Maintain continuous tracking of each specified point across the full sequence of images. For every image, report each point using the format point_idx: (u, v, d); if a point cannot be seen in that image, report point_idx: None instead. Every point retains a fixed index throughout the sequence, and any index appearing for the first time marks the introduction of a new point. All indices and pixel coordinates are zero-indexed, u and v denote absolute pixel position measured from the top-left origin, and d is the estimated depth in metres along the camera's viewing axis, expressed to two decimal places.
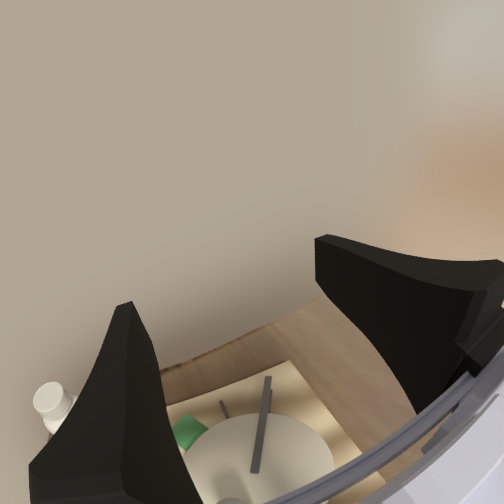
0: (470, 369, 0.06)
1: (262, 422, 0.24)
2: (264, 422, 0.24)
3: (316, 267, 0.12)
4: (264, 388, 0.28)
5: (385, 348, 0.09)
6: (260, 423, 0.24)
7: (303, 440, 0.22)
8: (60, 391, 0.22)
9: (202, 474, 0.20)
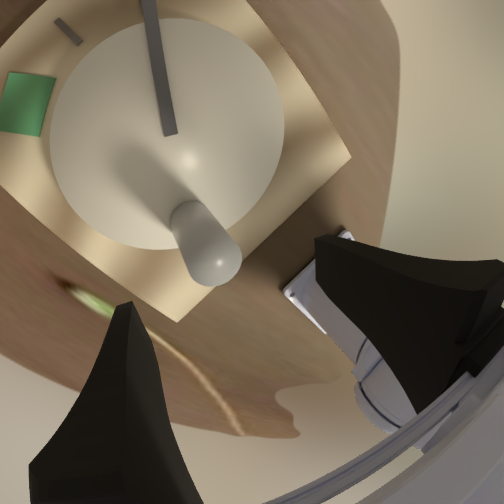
0: (470, 369, 0.06)
1: (154, 39, 0.12)
2: (159, 38, 0.11)
3: (316, 267, 0.12)
4: None
5: (385, 348, 0.09)
6: (152, 42, 0.11)
7: (230, 61, 0.14)
8: None
9: (93, 171, 0.13)
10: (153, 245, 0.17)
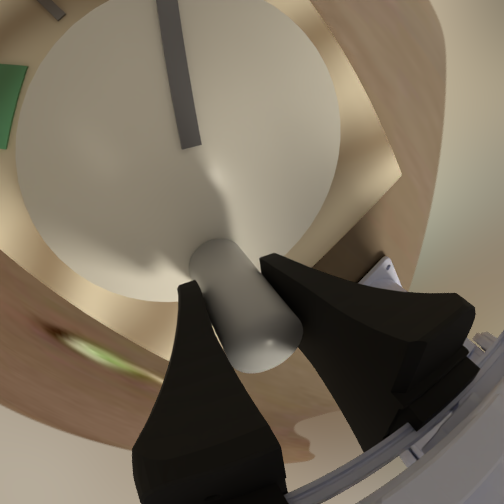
0: (411, 421, 0.05)
1: (168, 7, 0.07)
2: (176, 6, 0.07)
3: None
4: None
5: (329, 380, 0.09)
6: (165, 11, 0.07)
7: (274, 44, 0.09)
8: None
9: (79, 200, 0.09)
10: (167, 297, 0.12)
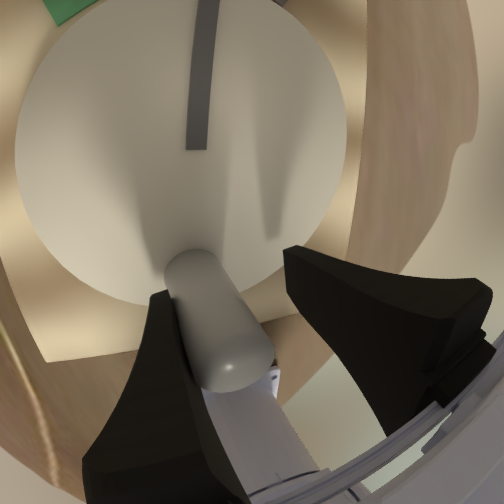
0: (438, 399, 0.05)
1: (208, 6, 0.08)
2: (217, 6, 0.07)
3: (286, 279, 0.12)
4: None
5: (353, 367, 0.09)
6: (205, 8, 0.07)
7: (300, 68, 0.10)
8: None
9: (70, 176, 0.08)
10: (136, 298, 0.11)
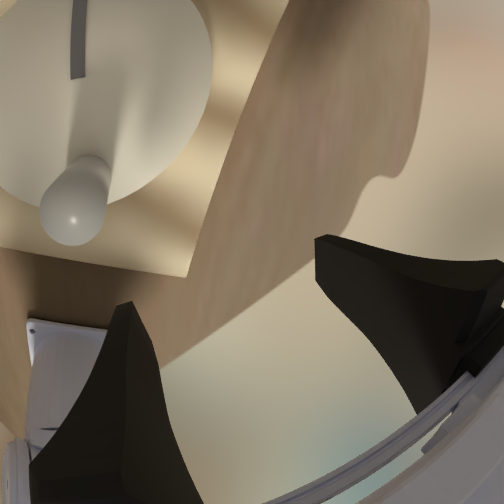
0: (470, 369, 0.06)
1: None
2: None
3: (316, 267, 0.12)
4: None
5: (385, 348, 0.09)
6: None
7: (157, 4, 0.10)
8: None
9: None
10: None
